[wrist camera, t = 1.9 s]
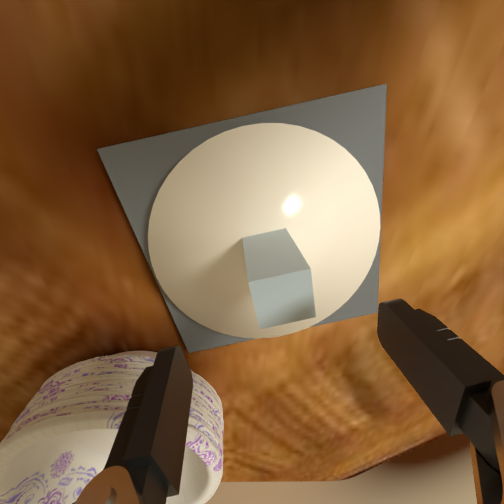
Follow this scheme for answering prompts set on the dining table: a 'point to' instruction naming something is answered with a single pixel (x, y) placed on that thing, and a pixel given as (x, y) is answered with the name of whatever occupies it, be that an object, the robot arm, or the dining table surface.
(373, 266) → the mat
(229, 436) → the dining table surface
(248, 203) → the lid
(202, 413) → the paper bowls
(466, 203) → the dining table surface
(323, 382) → the dining table surface
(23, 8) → the dining table surface
